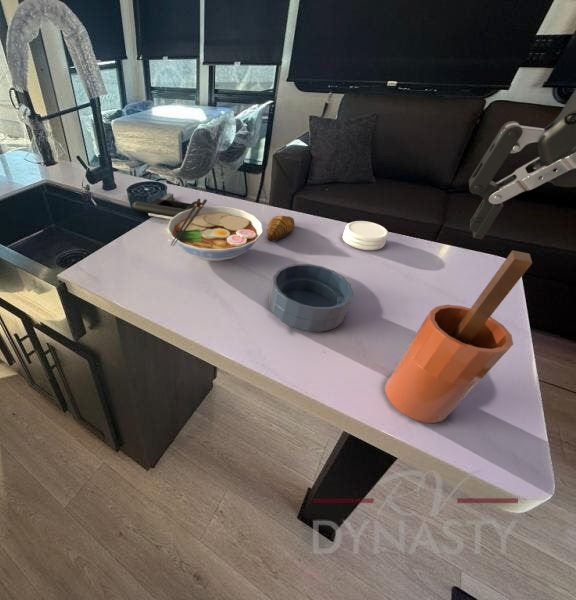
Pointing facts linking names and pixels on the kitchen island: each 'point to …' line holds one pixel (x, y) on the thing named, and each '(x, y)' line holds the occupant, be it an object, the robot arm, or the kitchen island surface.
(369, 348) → the kitchen island surface
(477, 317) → the brown wooden masher
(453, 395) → the crock
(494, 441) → the kitchen island surface
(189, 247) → the ramen bowl
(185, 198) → the kitchen island surface
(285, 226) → the croissant
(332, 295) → the bowl
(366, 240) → the coaster
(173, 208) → the door handle
